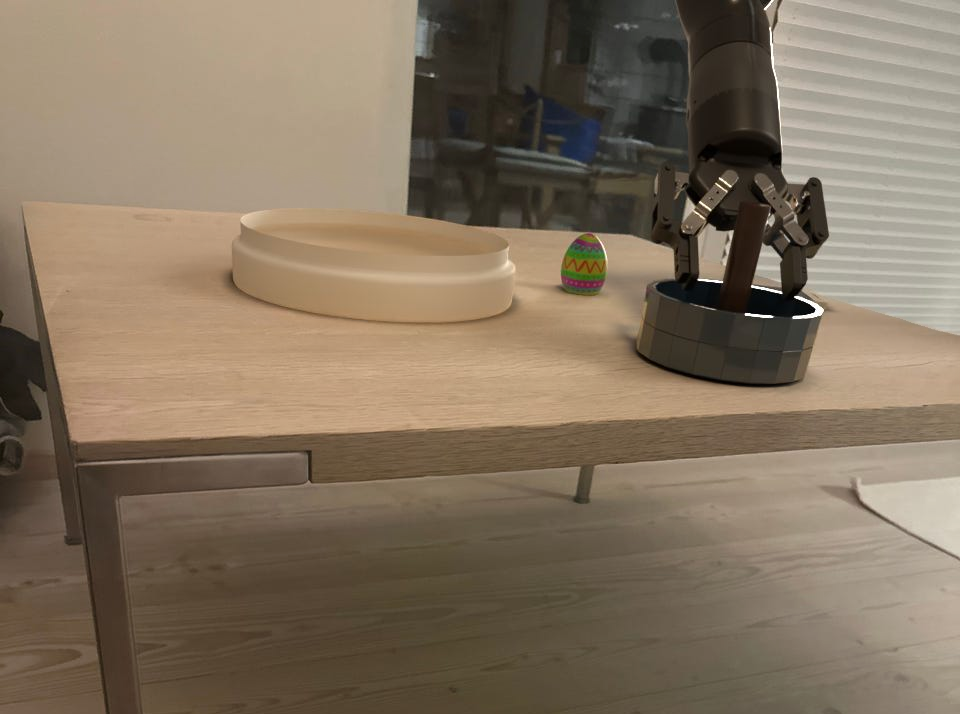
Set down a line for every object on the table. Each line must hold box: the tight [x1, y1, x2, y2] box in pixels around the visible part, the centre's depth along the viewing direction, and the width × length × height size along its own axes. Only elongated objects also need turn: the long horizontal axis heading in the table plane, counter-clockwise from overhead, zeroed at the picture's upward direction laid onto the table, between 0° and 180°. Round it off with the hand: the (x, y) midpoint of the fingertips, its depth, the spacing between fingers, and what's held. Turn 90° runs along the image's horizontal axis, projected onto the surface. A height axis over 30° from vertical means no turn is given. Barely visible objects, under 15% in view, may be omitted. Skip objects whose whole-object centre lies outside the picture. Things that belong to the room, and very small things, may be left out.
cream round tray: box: [231, 207, 516, 324], centre depth 89 cm, size 27×27×6 cm
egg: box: [560, 232, 608, 296], centre depth 98 cm, size 5×5×6 cm
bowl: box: [635, 278, 825, 385], centre depth 77 cm, size 14×14×6 cm
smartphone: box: [698, 277, 829, 311], centre depth 107 cm, size 7×16×1 cm, turn 87°
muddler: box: [716, 202, 771, 314], centre depth 75 cm, size 4×4×12 cm
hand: (742, 290), depth 74 cm, fingers open, 8 cm apart
